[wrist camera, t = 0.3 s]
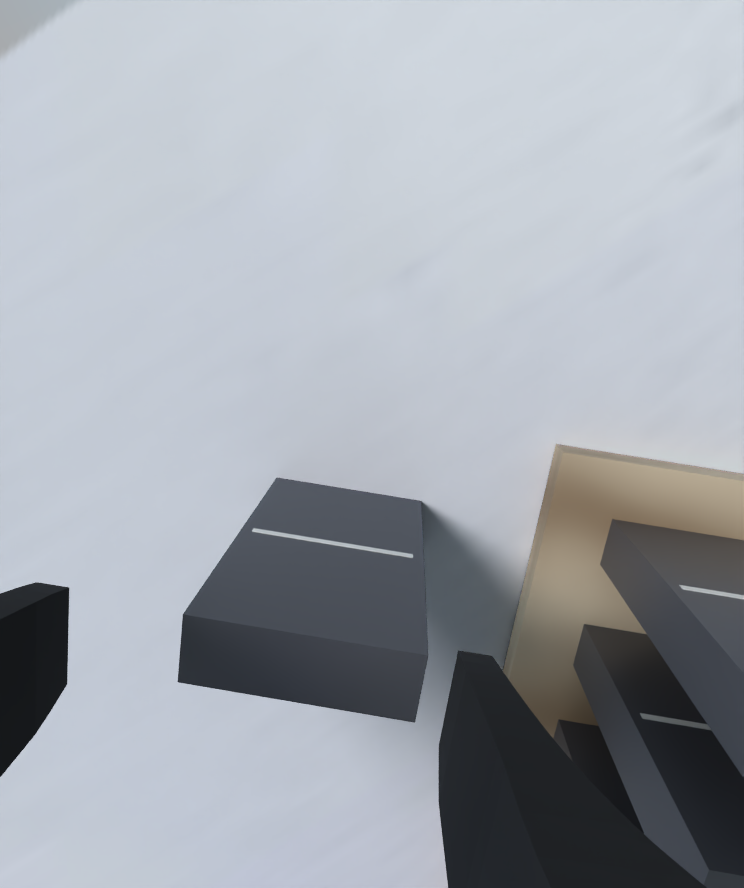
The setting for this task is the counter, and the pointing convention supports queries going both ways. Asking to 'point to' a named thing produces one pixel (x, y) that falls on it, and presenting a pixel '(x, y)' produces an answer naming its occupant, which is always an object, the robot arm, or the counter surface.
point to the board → (598, 561)
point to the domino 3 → (689, 614)
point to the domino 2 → (595, 763)
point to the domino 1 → (316, 604)
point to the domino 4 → (665, 755)
